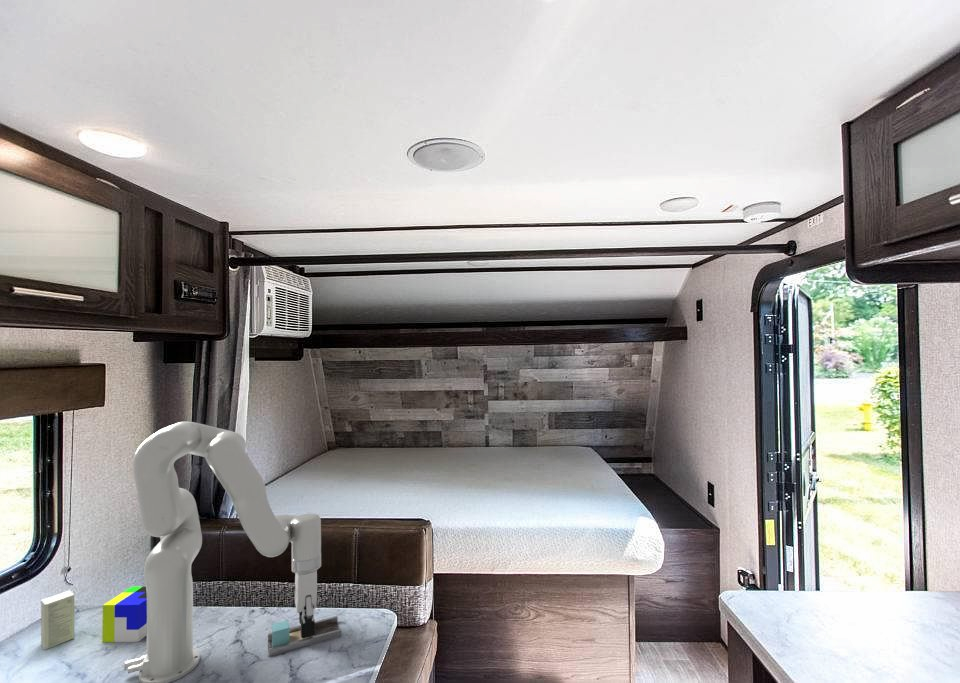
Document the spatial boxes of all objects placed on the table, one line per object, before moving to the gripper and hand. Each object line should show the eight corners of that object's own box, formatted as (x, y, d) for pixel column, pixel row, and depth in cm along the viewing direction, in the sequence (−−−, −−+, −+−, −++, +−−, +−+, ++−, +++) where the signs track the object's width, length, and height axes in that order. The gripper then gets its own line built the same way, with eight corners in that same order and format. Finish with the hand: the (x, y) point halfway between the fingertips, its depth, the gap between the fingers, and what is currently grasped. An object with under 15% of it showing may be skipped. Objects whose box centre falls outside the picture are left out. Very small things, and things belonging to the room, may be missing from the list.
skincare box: (70, 633, 128) (70, 589, 128) (74, 638, 125) (75, 593, 125) (39, 644, 122) (40, 599, 123) (43, 650, 120) (44, 604, 120)
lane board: (268, 660, 114) (268, 650, 114) (267, 642, 121) (267, 633, 121) (341, 639, 122) (341, 630, 122) (337, 624, 129) (337, 615, 129)
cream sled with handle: (272, 652, 116) (272, 629, 116) (272, 640, 121) (272, 618, 121) (313, 641, 120) (313, 619, 120) (311, 630, 125) (311, 608, 125)
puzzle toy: (138, 642, 123) (138, 604, 123) (102, 642, 123) (102, 605, 123) (164, 620, 133) (164, 586, 133) (131, 621, 133) (131, 586, 133)
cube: (272, 647, 116) (272, 631, 117) (272, 639, 120) (272, 623, 120) (289, 643, 118) (289, 627, 118) (288, 635, 122) (288, 619, 122)
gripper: (289, 552, 129) (289, 616, 128) (293, 578, 113) (294, 651, 113) (317, 547, 132) (317, 610, 131) (325, 572, 117) (325, 643, 116)
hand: (306, 628), depth 122 cm, fingers open, 6 cm apart
